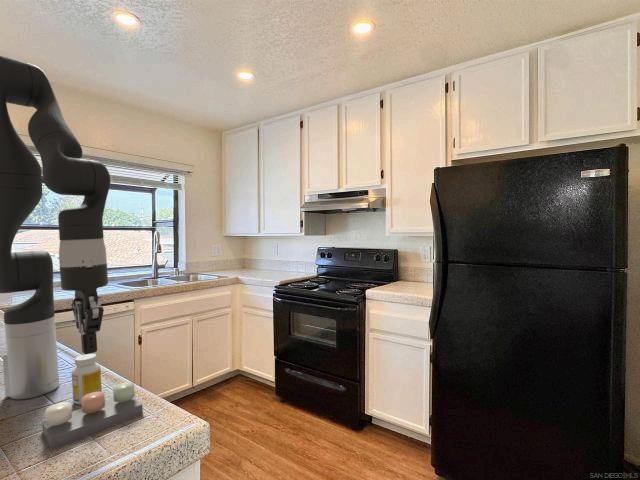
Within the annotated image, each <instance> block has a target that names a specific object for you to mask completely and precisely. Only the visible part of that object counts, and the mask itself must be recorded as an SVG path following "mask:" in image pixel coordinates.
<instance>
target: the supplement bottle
mask: <svg viewBox="0 0 640 480" xmlns="http://www.w3.org/2000/svg"><path fill="white" fill-rule="evenodd" d="M97 360H98V359H97V354H96V353H90V354H82V355H79V356H77V357H75V358H74V366H75V367H73V368H72V371H71V382H72V383H71V384H72V400H73V403H74V404H76V405H82V402H81V398H82V397H83V396H85V395H87V394H89V393H93V392H103V390H102V373H101V371H102V370H101V365H100V364H99V362H97Z"/></svg>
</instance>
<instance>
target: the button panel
mask: <svg viewBox="0 0 640 480" xmlns="http://www.w3.org/2000/svg"><path fill="white" fill-rule="evenodd" d="M143 411H144V409H143V403H141V402H140V401H139V400H138V399H137V398H135V396H134V397H133V398H132V399H130V400H128V401H124V402H115V401H114V397H112V398H108V399H105V407H104V408H103V409H101V410H99V411H96V412H93V413H83V412H82V407H81V408H79V409H76V410H72V418H71V419H70V420H69V421H67V422H65V423H62V424H59V425H55V426H48V425H47V424H46V420H43V421H42V422H41V423H42V424H41V429H42V434H43V435H44V437H45V439H46V442H47V444H48V445H49V448H50V449H51V450H54V449H57V448H59V447H62V446H64V445H66V444H69V443H72V442H75V441H78V440H79V439H83V438H85V437H88V436H89V435H92V434H95V433H97V432H100V431H103V430H106V429H107V428H111V427H113V426H115V425H118V424H120V423H122V422H125V421H128V420H131V419H134V418H136V417H139V416H141V415H143V414H144V412H143Z"/></svg>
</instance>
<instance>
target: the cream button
mask: <svg viewBox="0 0 640 480" xmlns="http://www.w3.org/2000/svg"><path fill="white" fill-rule="evenodd" d="M72 411H73V410H72V403H71V402H69V401H64V402H63V401H62V402H58V403H55V404H52V405H50V406H48V407H46V409H45V421H46V424H47V425H48V426H55V425H59V424H62V423H65V422H67V421H69V420H70V419H71V418H72Z"/></svg>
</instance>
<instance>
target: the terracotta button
mask: <svg viewBox="0 0 640 480" xmlns="http://www.w3.org/2000/svg"><path fill="white" fill-rule="evenodd" d="M105 400H106V398H105V392H104V391H102V392H93V393H89V394H87V395H85V396H83V397H82V398H81V402H82V404H81V408H82V412H83V413H93V412H96V411H99V410H101V409H103V408H104V407H105Z"/></svg>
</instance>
